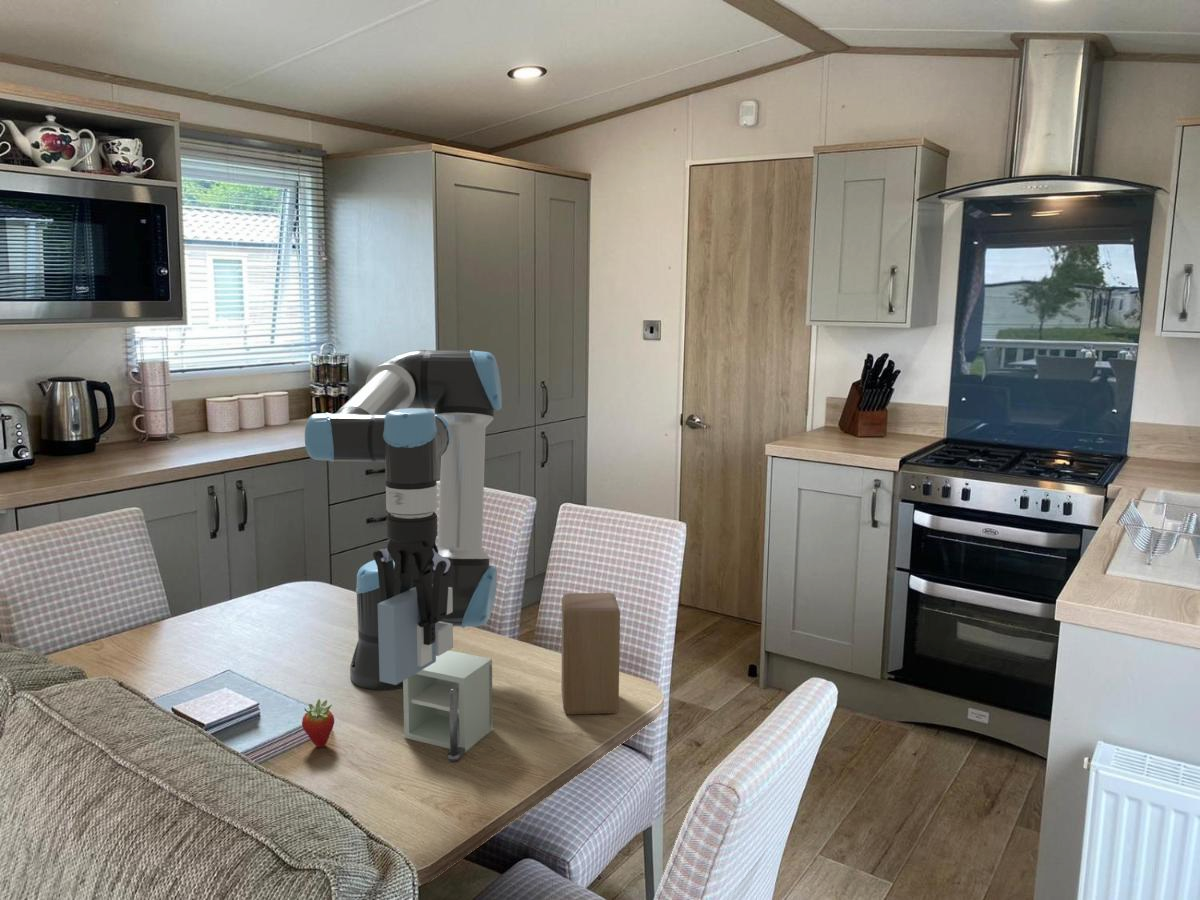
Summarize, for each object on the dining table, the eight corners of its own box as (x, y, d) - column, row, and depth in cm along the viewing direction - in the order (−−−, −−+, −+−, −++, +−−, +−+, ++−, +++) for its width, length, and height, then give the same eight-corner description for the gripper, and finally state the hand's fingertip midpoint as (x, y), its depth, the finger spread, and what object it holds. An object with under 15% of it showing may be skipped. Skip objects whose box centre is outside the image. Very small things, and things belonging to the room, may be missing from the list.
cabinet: (404, 737, 159) (402, 665, 157) (434, 716, 167) (432, 647, 165) (464, 752, 154) (464, 678, 152) (492, 729, 162) (492, 658, 160)
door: (376, 680, 139) (374, 603, 137) (432, 649, 152) (431, 578, 150) (398, 685, 138) (396, 607, 136) (453, 653, 150) (452, 581, 148)
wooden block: (561, 692, 177) (561, 591, 174) (613, 691, 178) (615, 591, 175) (563, 716, 168) (564, 610, 164) (619, 715, 168) (620, 609, 165)
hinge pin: (445, 760, 152) (444, 690, 150) (457, 750, 155) (456, 682, 153) (456, 762, 151) (454, 692, 149) (467, 753, 154) (466, 684, 152)
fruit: (305, 756, 152) (303, 710, 151) (301, 742, 157) (299, 697, 156) (337, 750, 154) (335, 705, 153) (332, 736, 159) (331, 692, 158)
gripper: (352, 511, 140) (357, 660, 144) (441, 524, 133) (443, 679, 137) (384, 502, 147) (388, 644, 151) (470, 513, 140) (472, 662, 144)
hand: (414, 660), depth 144 cm, fingers closed on door, 3 cm apart
